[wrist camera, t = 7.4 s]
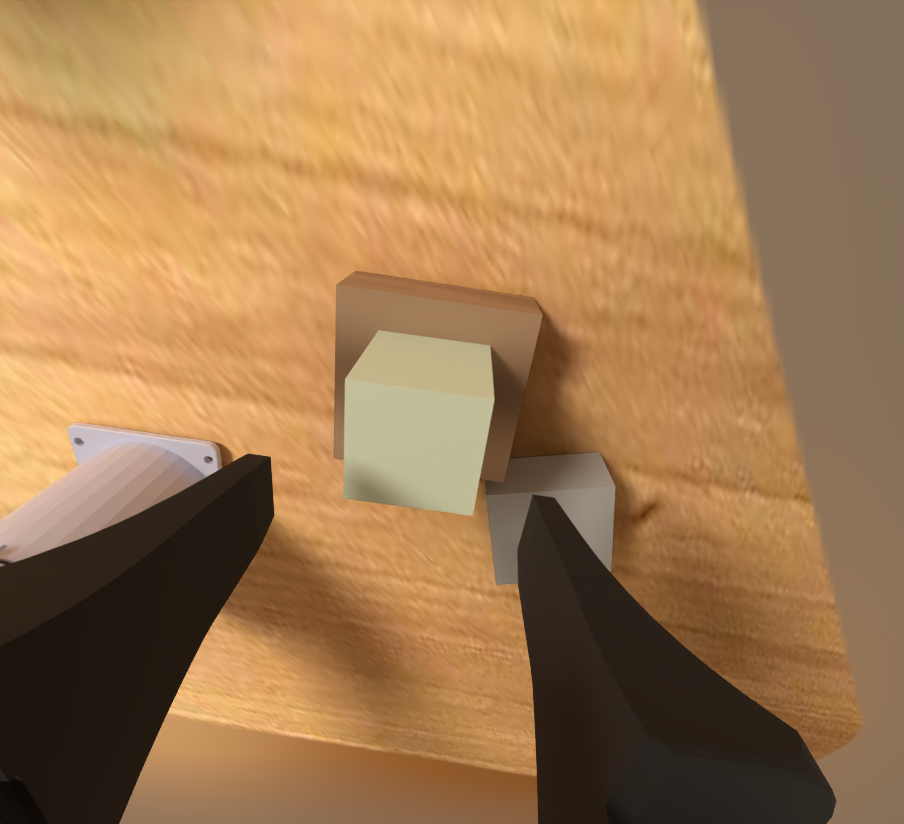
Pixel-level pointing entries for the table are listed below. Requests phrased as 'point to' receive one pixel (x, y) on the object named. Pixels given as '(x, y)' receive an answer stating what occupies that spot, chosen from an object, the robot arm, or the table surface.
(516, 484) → the slate block
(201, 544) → the robot arm
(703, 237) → the table surface
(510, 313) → the walnut block
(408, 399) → the sage block
